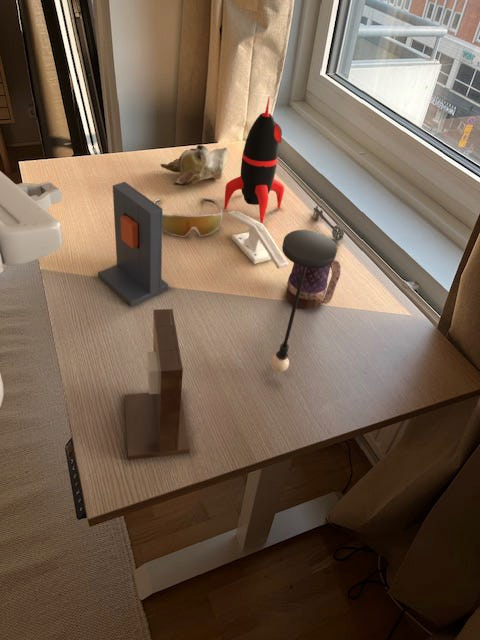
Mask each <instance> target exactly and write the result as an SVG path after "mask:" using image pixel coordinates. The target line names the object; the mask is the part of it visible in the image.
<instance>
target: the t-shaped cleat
mask: <svg viewBox="0 0 480 640" xmlns="http://www.w3.org/2000/svg"><path fill="white" fill-rule="evenodd" d="M227 216H228V217H229V218H231V219H233V220H235V221H236V222H238V223H240V224H241V225H244V226H245V227H247V228H248V231H246V232H242V233H237V234H233V235H231V240H232V241H233V242H234V243H235V244H236V245H237V246H238V247H239V249H240V250H241V251H242V252H243V253H244V254H245V256H246V257H247V258H248V259H249V260H250V261H251V262H252V263H253V264H254V265H255V264H259V263H264V262H267V261H271V260H272V262H273V264H274V265H275V267H276V270H277V269H278V270H280V269H283V268H286V267H288V266H289V262H288V261H287V259H286V257H285V255H284V254H283V252H282V251H281V250H280V248H279V247H278V245H277V244H276V242H275V240H274V239H273V237H272V236H271V234H270V233H269V231H268V229H267V228H266V226H265V225H264V224H263V223H260V221H258V220H256V219H254V218H252V217H250V216H248V215H246V214H244V213H243V212H241V211H239V210H231V211H228V212H227Z"/></svg>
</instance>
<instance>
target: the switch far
mask: <svg viewBox="0 0 480 640" xmlns="http://www.w3.org/2000/svg"><path fill="white" fill-rule="evenodd" d="M121 239H122V240H123V241H124V242H125V243H126V244H128V245H129V246H130V247H131V248H135V247H138V224H137V223H136V222H135V221H133V220H132V219H131V218H130V217H128V216H127V215H125V216H123V217H121Z"/></svg>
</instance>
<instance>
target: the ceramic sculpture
mask: <svg viewBox="0 0 480 640" xmlns="http://www.w3.org/2000/svg"><path fill="white" fill-rule="evenodd" d="M228 152H229V151H228V148H227V147H223V148H215V149H213V150H210V149H209V148H208V147H207V146H205V145H203V144H202V145H201V144H198V145H197V146H196V148H190V149H186V150H184V151H183V152H182V153H181V154H180V156H179V158H176V159H174V160H173V161H170V162H169V163H161V164H160V167H161V168H163V169H165V170H167V171H170V172H172V173H179V174H180V175H179V176H178V177H177V179H176V180H175V182H173V183H172V184H173V185H174V186H177V187H186V188H187V187H191V186H192V185H194V184H195V183H197V182H201V181H204V180H208V179H212V178H213V179H215V180H217V181H220V180H221V179H222V178H223V175H224V169H225V167H226V165H227V160H228Z"/></svg>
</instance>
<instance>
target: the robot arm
mask: <svg viewBox="0 0 480 640" xmlns="http://www.w3.org/2000/svg"><path fill="white" fill-rule="evenodd" d="M63 197H64V196H63V192H62V191H61V190H60V189H59V188H58V187H57V186H55V185H54V184H53V183H52V182H51V181H49V180H48V181H44V182H40V183H34V182H33V183H31V182H20V183H18V184H17V183H14V181H12V179H10V178H9V177H8V176H7V175H6V174H5V173H4V172H2V171H1V170H0V274H1V273H3V272H4V265H5V266H10V267H15V266H21V265H24V264H25V265H26V264H28V263H31V262H34V261H37V260H39V259H42V258H45V257H47V256H50V255H52V254H55V253H56V252H57V251H59V250H60V249H61V247H62V246H63V244H64V238H63V231H62V225H61V222H60V221H59V220H58V219H57V218H55V217H54V216H53V215H52V214H51V213H49V212H48V210H49V209H50V208H51V207H52V206H53V205H55V204H58V203H61V202H63ZM4 391H5V390H4V383H3V378H2V373H0V408H1V407H2V404H3V401H4V396H5V395H4Z"/></svg>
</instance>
